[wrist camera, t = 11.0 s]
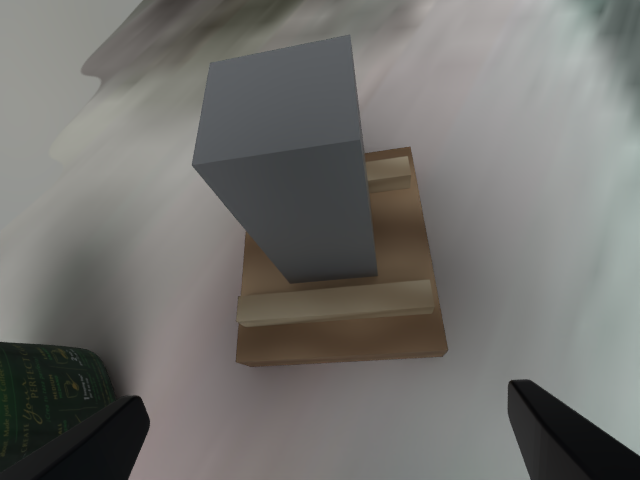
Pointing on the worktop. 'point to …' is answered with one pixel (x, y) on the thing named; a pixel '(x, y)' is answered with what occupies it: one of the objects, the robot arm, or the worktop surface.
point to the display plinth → (350, 290)
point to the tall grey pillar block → (291, 157)
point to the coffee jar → (46, 395)
